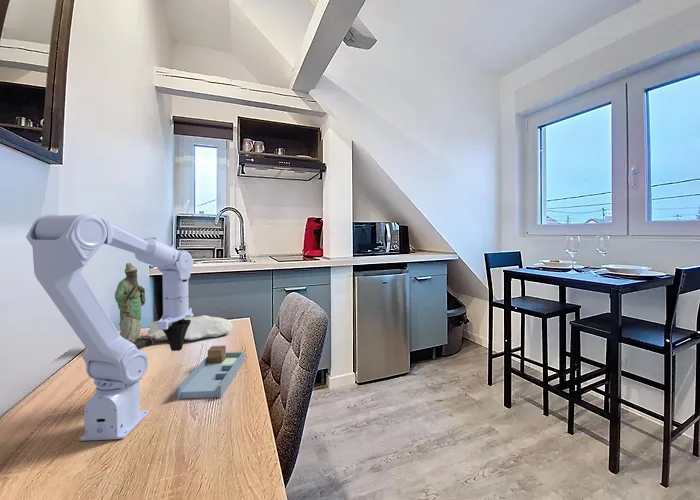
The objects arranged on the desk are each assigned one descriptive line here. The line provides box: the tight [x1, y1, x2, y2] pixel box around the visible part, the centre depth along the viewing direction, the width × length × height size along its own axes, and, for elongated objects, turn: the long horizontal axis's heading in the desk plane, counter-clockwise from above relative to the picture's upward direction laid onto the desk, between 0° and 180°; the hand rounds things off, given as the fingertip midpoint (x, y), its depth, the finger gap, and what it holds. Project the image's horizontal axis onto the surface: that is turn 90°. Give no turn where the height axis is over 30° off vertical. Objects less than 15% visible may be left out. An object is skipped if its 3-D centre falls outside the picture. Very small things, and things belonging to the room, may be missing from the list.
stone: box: [147, 314, 234, 342], centre depth 126 cm, size 21×8×30 cm
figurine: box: [114, 262, 153, 350], centre depth 112 cm, size 10×10×30 cm
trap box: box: [176, 351, 245, 401], centre depth 88 cm, size 23×10×3 cm, turn 5°
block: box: [207, 345, 227, 364], centre depth 96 cm, size 4×4×4 cm
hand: (176, 349), depth 81 cm, fingers closed
